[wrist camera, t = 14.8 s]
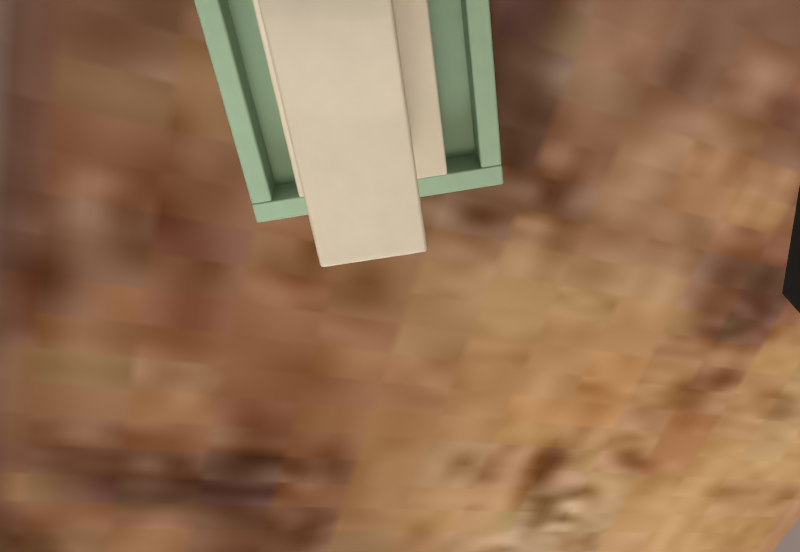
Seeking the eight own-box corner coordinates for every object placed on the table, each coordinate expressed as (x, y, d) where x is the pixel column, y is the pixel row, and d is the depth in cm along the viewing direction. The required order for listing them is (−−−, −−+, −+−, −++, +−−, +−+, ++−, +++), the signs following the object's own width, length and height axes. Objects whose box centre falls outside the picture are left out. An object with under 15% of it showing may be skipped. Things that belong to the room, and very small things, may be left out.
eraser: (228, -149, 23) (162, -135, 15) (401, -178, 23) (429, -180, 15) (302, 171, 29) (284, 305, 21) (440, 149, 28) (476, 276, 20)
